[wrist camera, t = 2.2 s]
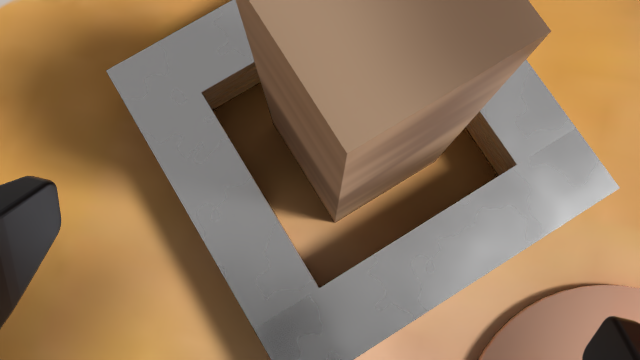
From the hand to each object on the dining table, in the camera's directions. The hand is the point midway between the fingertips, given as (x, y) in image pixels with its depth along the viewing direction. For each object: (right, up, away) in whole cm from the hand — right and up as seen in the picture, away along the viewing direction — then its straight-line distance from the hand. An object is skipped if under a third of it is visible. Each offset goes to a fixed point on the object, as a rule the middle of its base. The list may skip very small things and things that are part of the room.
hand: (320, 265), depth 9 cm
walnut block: (+1, +3, +12) cm, 13 cm away
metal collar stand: (+1, +3, +12) cm, 13 cm away
